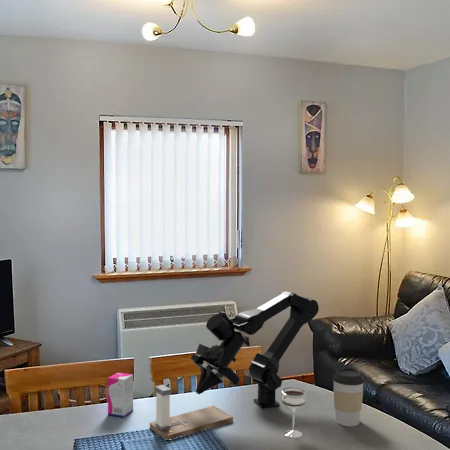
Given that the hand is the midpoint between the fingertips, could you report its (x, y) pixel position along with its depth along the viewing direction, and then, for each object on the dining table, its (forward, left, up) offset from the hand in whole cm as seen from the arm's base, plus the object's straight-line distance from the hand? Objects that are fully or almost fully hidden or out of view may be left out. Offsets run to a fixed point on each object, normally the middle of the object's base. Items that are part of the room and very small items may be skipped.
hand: (197, 393), depth 156 cm
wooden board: (0, -2, -9) cm, 9 cm away
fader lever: (+3, -11, -7) cm, 13 cm away
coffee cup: (+13, +42, -9) cm, 45 cm away
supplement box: (-15, -20, -9) cm, 26 cm away
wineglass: (+15, +23, -9) cm, 29 cm away
